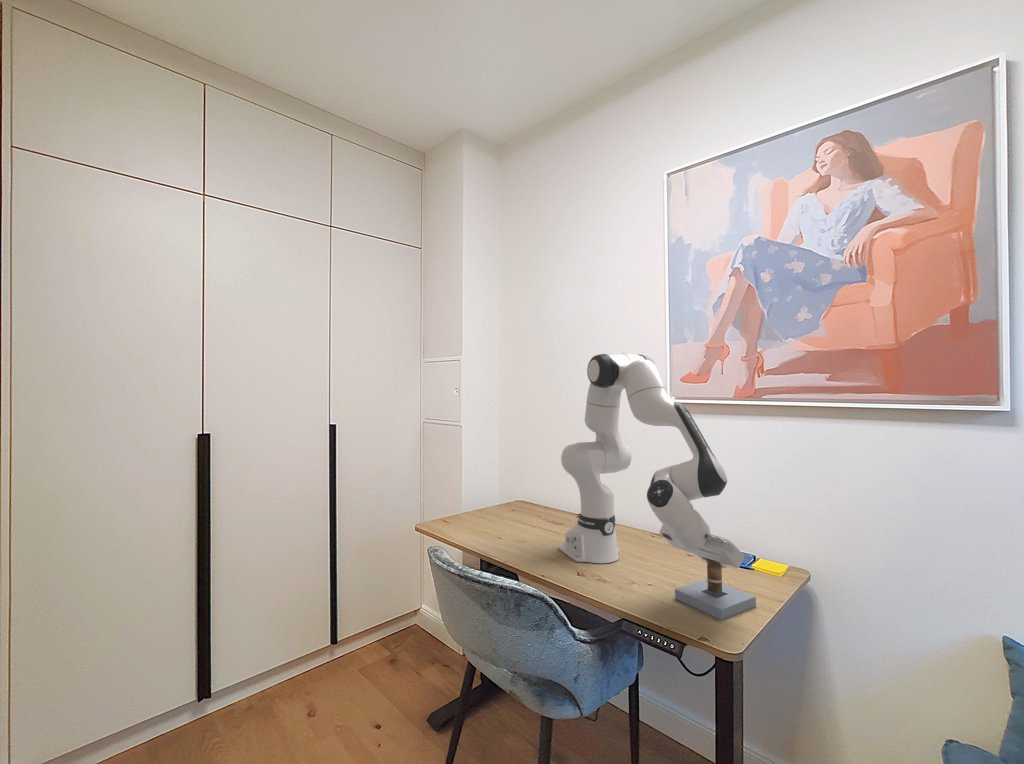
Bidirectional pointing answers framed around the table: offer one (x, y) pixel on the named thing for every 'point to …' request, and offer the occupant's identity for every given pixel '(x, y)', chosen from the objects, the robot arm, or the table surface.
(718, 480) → the robot arm
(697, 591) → the socket board
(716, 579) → the peg
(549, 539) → the table surface
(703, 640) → the table surface
